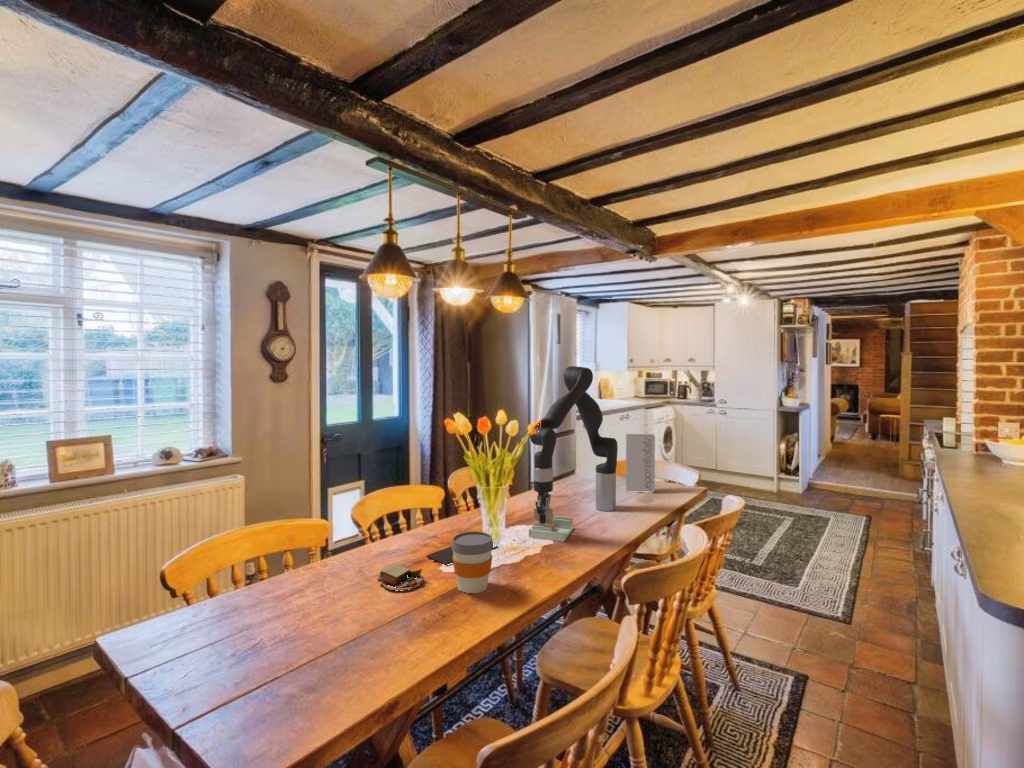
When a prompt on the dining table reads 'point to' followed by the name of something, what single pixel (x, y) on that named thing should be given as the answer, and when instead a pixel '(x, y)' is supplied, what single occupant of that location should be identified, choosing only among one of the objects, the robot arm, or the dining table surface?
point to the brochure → (640, 462)
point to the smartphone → (442, 556)
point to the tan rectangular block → (547, 518)
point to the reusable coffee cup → (472, 560)
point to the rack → (560, 529)
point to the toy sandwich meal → (400, 577)
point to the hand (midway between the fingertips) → (543, 522)
